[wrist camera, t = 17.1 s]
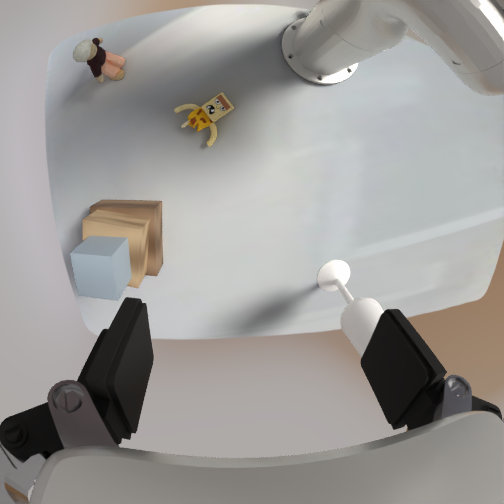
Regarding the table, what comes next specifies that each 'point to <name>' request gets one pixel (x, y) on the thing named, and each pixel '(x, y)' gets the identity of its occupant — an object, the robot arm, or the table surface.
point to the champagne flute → (351, 305)
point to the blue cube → (102, 267)
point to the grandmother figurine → (99, 60)
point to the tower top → (123, 227)
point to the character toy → (207, 114)
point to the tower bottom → (155, 233)
